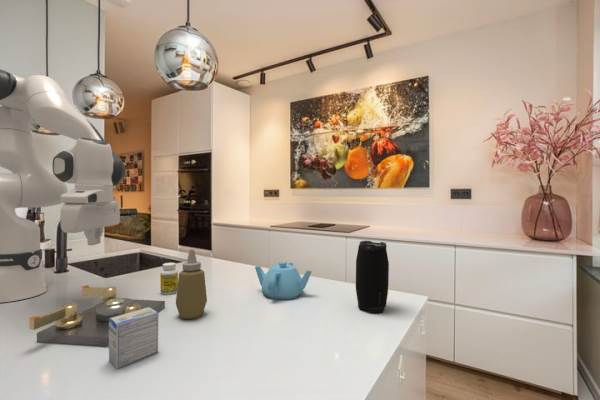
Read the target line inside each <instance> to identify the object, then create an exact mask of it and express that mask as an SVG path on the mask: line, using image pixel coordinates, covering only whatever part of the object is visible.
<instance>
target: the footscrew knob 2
mask: <svg viewBox="0 0 600 400" xmlns="http://www.w3.org/2000/svg"><path fill="white" fill-rule="evenodd" d="M81 296H91V297H103V299H100V300H99V301H98V304H99V303H101V302H103V301H107V300H111V299H116V298H120V297H118V296H117V286H108V287H107V286H106V287H103V286H101V287H99V286H89V285H88V284H86V285H85V284H84V285H82V286H81Z"/></svg>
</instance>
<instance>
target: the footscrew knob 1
mask: <svg viewBox="0 0 600 400" xmlns="http://www.w3.org/2000/svg"><path fill="white" fill-rule="evenodd" d="M77 314H78V304H77V303H76V302H75V303H74V302H73V303H66V304H63V305H61V306H60V308H58V309H55V310H52V311H49V312H47V313H44V314H42V315H39V316H38V315H37V316H36V315H33V316H31V317H29V318H28V320H29V330H32V331H35V330H38V329H40V328H42V327H44V326H48V325H49V324H52V323H55V324H54V325H55V328H57V329H67V328H71V327H75V326H77V325H79V324H81V323H82V316H77Z"/></svg>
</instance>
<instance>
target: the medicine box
mask: <svg viewBox="0 0 600 400" xmlns="http://www.w3.org/2000/svg"><path fill="white" fill-rule="evenodd" d="M158 352H159V312H156V311H155V310H153V309H151V308H149V307H148V308H144V309H141V310H137V311H133V312H130V313H126V314H123V315H119V316H116V317H113V318H110V319H109V347H108V360H109V361H110V363H111V365H113V366H114V368H115V369H117V370H118V369H120V368H122V367H125V366H127V365H129V364H132V363H134V362H137V361H140V360H141V359H143V358H144V359H145V358H147V357H149V356H152V355H154V354H156V353H158Z"/></svg>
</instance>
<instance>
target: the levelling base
mask: <svg viewBox="0 0 600 400" xmlns="http://www.w3.org/2000/svg"><path fill="white" fill-rule="evenodd" d="M148 307H149V308H151V309H153V310H155V311H156V312H158V313H160V312H161V311H162V310H164V309H165V308H166V300H151V299H133V298H128V297H119V298H116V299H111V300H107V301H103V302H101V303H99V302H98V303H97V304H96V305H93V306H91V307H89V308H87V309H85V310H82V311H80V312H77V316H82V323H81V324H79V325H77V326H75V327H71V328H67V329H57V328H55V324H53V325H51V326H49V327H46V328H44V329H43V330H40V331H38V332H36V343H47V344H62V345H74V346H75V345H76V346H77V345H78V346H90V347H91V346H94V347H108V348H109V319H110V318H113V317H116V316H119V315H123V314H126V313H130V312H133V311H137V310H141V309H144V308H148Z"/></svg>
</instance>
